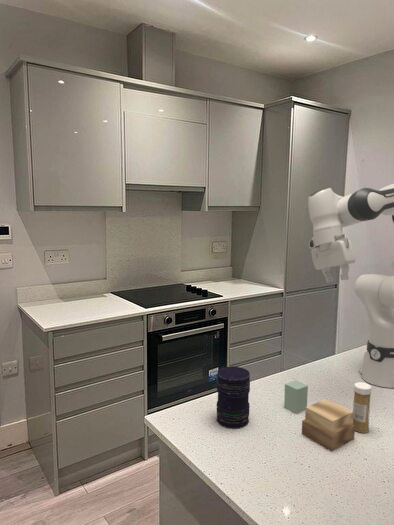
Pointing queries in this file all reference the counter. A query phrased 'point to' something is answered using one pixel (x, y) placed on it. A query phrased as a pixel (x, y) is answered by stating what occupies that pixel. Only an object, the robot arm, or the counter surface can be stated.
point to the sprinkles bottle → (361, 407)
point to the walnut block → (328, 436)
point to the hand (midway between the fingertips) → (337, 280)
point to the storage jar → (233, 397)
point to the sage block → (295, 396)
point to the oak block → (329, 416)
